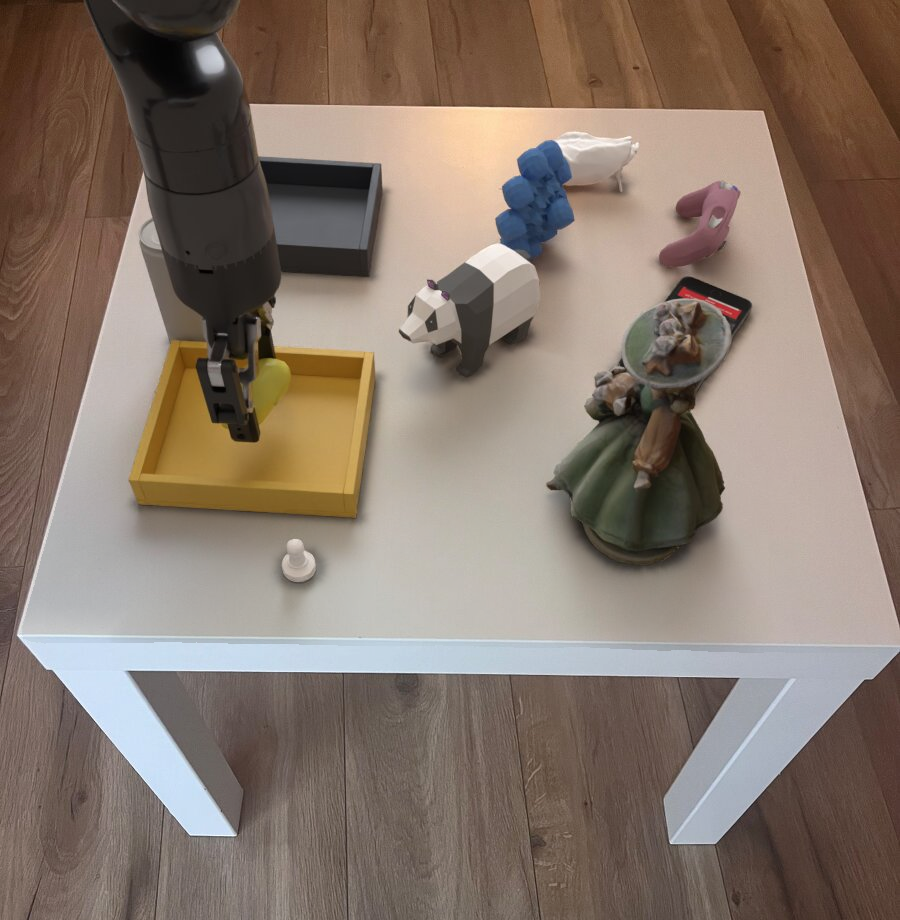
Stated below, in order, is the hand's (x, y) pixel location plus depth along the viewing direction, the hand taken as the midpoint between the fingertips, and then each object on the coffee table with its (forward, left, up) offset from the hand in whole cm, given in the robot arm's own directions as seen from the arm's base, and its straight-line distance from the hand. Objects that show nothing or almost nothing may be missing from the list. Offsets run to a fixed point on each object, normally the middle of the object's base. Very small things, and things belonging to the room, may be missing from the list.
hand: (255, 401), depth 74 cm
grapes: (+23, +25, -5) cm, 34 cm away
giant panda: (+17, +12, -5) cm, 21 cm away
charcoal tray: (-1, +28, -5) cm, 28 cm away
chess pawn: (+5, -13, -5) cm, 15 cm away
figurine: (+31, -4, -5) cm, 31 cm away
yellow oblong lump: (0, 0, -1) cm, 1 cm away
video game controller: (+39, +29, -5) cm, 49 cm away
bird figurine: (+27, +38, -5) cm, 47 cm away
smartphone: (+37, +15, -5) cm, 40 cm away
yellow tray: (0, 0, -5) cm, 5 cm away
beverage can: (-8, +11, -5) cm, 14 cm away
